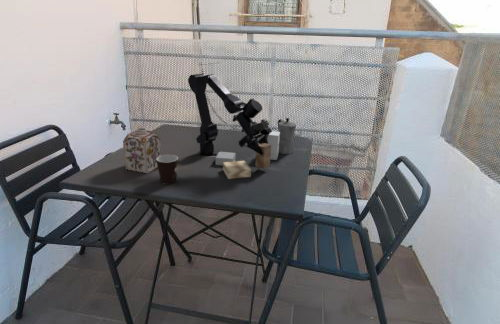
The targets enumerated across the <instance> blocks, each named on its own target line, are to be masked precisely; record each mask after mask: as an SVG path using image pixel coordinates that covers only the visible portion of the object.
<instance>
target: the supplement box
mask: <svg viewBox="0 0 500 324" xmlns="http://www.w3.org/2000/svg"><path fill="white" fill-rule="evenodd" d="M279 139H280V132H279V131H275V130H272V132H271V133H270V134H269V135H268V138H267V140H268V144H270V145H271V156H270V161H273V160H274V161H277V160H278V157H279Z"/></svg>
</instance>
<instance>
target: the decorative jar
mask: <svg viewBox="0 0 500 324" xmlns="http://www.w3.org/2000/svg"><path fill="white" fill-rule="evenodd" d="M122 145H123V146H122V147H123V156H124V164H125V169H126V170H127V169H128V170H127V171H131V170H132V171H133V172H136V171H137V173H142V172H143V173H142V174H149V173H151V172H152V171H154V170H156V169H157V168H158V165H157V161H156V158H157V157H159V156H162V155H163V154H162V145H161V137H160V136H159V135H158V134H157V133H156V132H154V131H153V130H147V128H145V127H139V128H135V129H134V130H133V131H131V132H128V133H127V134H126V136H125V138H124V139H123V141H122ZM150 171H151V172H150Z"/></svg>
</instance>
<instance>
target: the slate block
mask: <svg viewBox="0 0 500 324" xmlns="http://www.w3.org/2000/svg"><path fill="white" fill-rule="evenodd" d="M236 154H237V153H236V152H228V151H218V153H217V154H216V156H215V165H216V166H223V162H234V161H236V156H237V155H236Z"/></svg>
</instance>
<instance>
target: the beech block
mask: <svg viewBox="0 0 500 324" xmlns="http://www.w3.org/2000/svg"><path fill="white" fill-rule="evenodd" d="M222 171H223V172H224V174H225V176H226V178H227V179H228V180H232V179H241V178H251V176H252V169H251V167H250V165H249V164H248V163H247V162H246V161H245V160H235V161H234V162H223V165H222Z"/></svg>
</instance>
